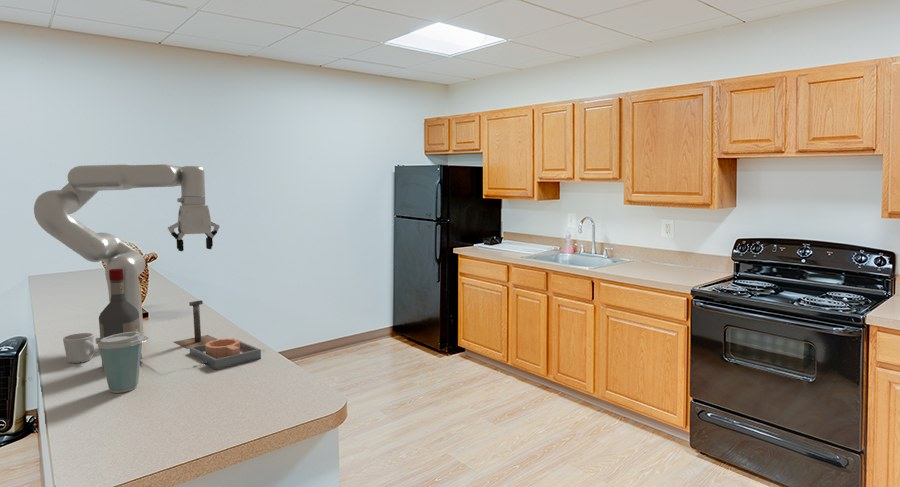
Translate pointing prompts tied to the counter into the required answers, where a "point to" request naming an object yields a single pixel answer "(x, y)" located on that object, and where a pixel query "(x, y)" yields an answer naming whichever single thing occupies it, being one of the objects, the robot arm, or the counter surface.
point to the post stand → (196, 330)
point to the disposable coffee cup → (121, 360)
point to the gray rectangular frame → (227, 361)
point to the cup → (79, 347)
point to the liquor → (118, 310)
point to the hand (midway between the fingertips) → (195, 249)
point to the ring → (222, 348)
